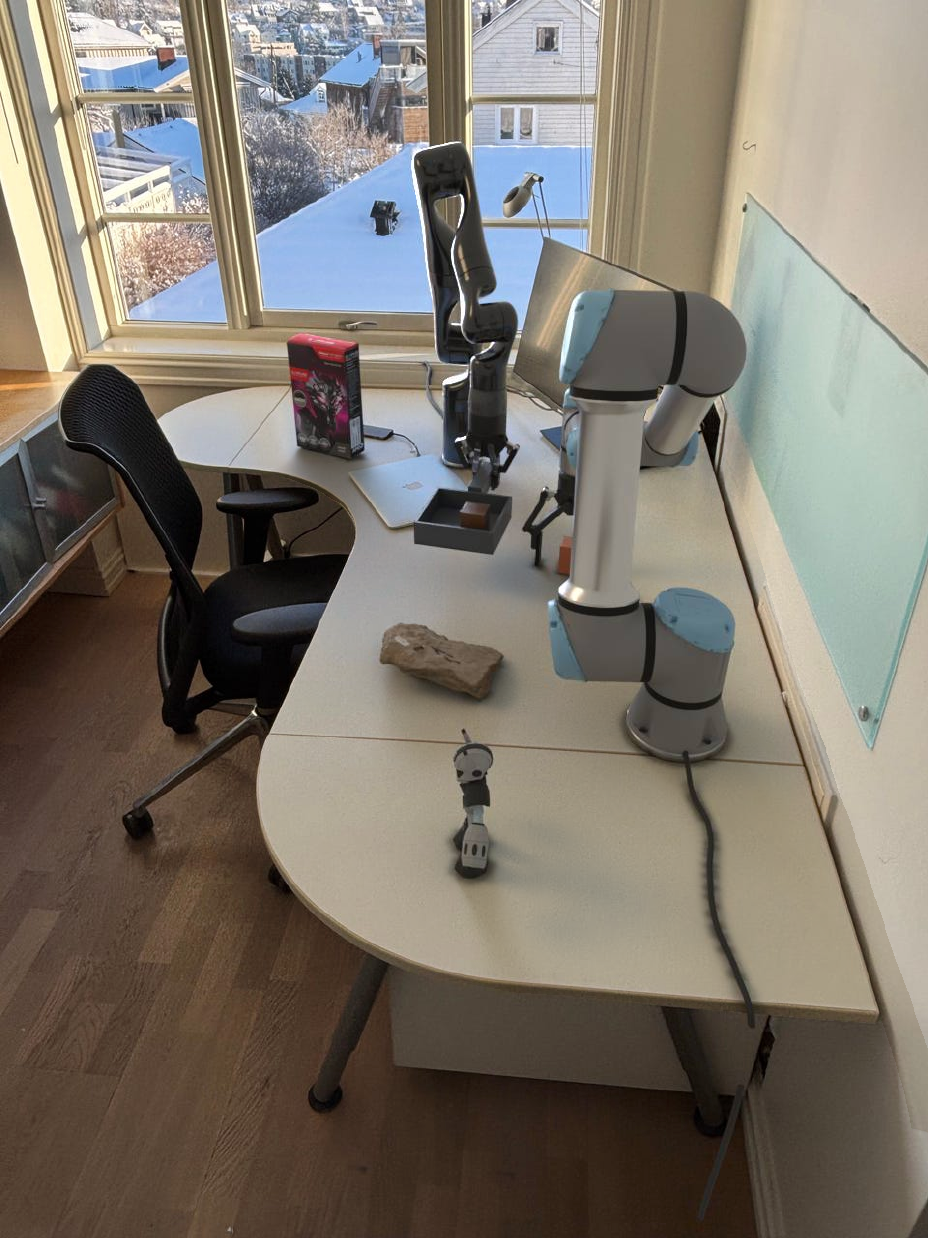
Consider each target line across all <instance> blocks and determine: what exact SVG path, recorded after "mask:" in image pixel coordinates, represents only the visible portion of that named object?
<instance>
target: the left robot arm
mask: <svg viewBox="0 0 928 1238" xmlns="http://www.w3.org/2000/svg"><path fill="white" fill-rule="evenodd" d="M411 171H412V179H413V185H414V190H415V195H416V200H417V205H418V209H419V214H420V215H419V216H420V221H421V227H422V235H423V243H424V253H425V254H424V255H425V263H426V264H425V265H426V271H427V279H428V283H429V290H430V297H431V303H432V311H433V328H434V329H433V330H434V344H435V345H434V346H435V353H436V357H437V360H438V361H439V363H440V364H443V365H448V366H459V367H467V369H466V370H465V371H463V372H460V373H458V374H454V375H451V376H449V377H447V378H445V379H444V380H443V382H442V409H441V408H440V407H439V405H438V404H437V403H436V401H435V400H434V398H433V396H432V394H431V391H430V378H431V374H432V368H431V365H430V364H429V362H428V361H427V360H423V361H424V362H425V363H424V362H423V361H422V365H423V366H424V365H425V366H426V367H427V374H426V379H425V390H426V394H427V397H428V400H429V401H430V402H431V404H432V406H433V407H434V408H435V410H436V411H437V412H438V413H439V414H440V416H441V417H442V463H443V464H444V465H445V466H448V467H450V468H455V469H469V470H471V472H472V474H471V475H472V476H471V478H472V479H473V477H474V475H475V474H476V472H477V471H478V469H479V467H480V466H481V464H482V459H483V458H488V459H489V462H490V464H491V467H492V480H491V487H490V491H493V492H495V491H496V490H497V489H498V488H499V486H500V484H501V474H506V473H507V471H508V470H509V468H510V467H511V465H512V463H513V461H514V459H515V458H516V456H517V454H518V453H519V450H520V449H521V445H520V444H519V443H515V444H514V443H513V442H511V441H509V438H508V436H507V416H508V392H507V382H508V381H507V378H508V364H509V360H510V357H511V353H512V349H513V347H514V343H515V340H516V337H517V333H518V329H519V316H518V312H517V310H516V308H515V307H514V305H513V304H512V303H511V302H509V301H504V300H503V301H494V302H484V303H480V302H479V301H480V300H482V299H484V298H487V297H489V296H490V295H492V294H493V293H494V292H495V291H496V289H497V286H498V281H497V276H496V273H495V270H494V267H493V262H492V260H491V257H490V253H489V250H488V245H487V242H486V237H485V236H486V235H485V232H484V225H483V218H482V213H481V207H480V206H481V205H480V200H479V196H478V190H477V183H476V179H475V174H474V168H473V164H472V161H471V157H470V154H469V151H468V149H467V148H466V146H465V145H464V143H462V142H461V141H460V142H459V141H453V142H448V143H444V144H440V145H439V144H438V145H434V146H430V147H427V148H423V149H419V150H417V151H415V152H414V154H413V155H412V160H411ZM456 197H460V198H461V214H460V218H459V222H458V226H457V228H456V230H455V229H454V228H452V226H451V225H450V224H449V223H448V222H447V221H446V220H445V219H444V217H443V216H442V215H441V213H440V211H439V210H438V208H437V206H436V203H437V202H440V201H442V200H447V199H452V198H456ZM459 303H460V309H461V310H460V312H461V313H460V314H461V315H460V323H458V322H452V321H451V316H452V314H453V312H454V311H455V309H456V307H457V306H458V304H459ZM489 343H490V345H489V347H488V348H486V349H485V344H489ZM505 448H506V454H507V457H506V459H505V461H504V463H503V464H501V452H502V451H503V450H504V449H505ZM472 479H471V480H472Z"/></svg>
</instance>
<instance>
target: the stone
mask: <svg viewBox="0 0 928 1238" xmlns="http://www.w3.org/2000/svg"><path fill="white" fill-rule="evenodd" d="M381 642H382V646H381V648H380V654H379V662H380V663H379V664H381V665H393V666H395V667H397V668H398V669H399V670H400V672H402V673H404V674H409V675H413V676H414V677H417V678H422V679H427V680H428V681H431V682H433V683H436V684H438V685H441V686H443V687H446V688H448V689H450V690H452V691H455V692H465V693H467V694H469V695H471V696H472V697H474V698H476V699H484V698H486V697H487V695H488V694H489V691H490V689H491V687H492V680H493V678H494V676H495V673H496V672H497V669H498V668H499V666H500V663H501V662H502V661H503V659H504V658H505V655H504V654H503V653H502V652H500V651H498V650H497V649H495V648H494V647H490V646H486V645H480V644H474V643H468V642H465V641H462V640H460V641H458V640H453V639H452V640H451V639H448V638H447V636H446V635H443V634H437V632H435V630H432V629H430V628H429V626H427V625H423V624H418V623H403V622H399V623H397V624H394V625H393V626H391V627H389V628H388V629H386V630H385V631H384V633H383V635H382V638H381Z"/></svg>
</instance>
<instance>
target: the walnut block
mask: <svg viewBox="0 0 928 1238" xmlns="http://www.w3.org/2000/svg"><path fill="white" fill-rule="evenodd" d="M460 527H463V528H470V529H477V530H485V531H489V530H490V504H482V503H474V502H466V504H465V506H464V507H463V509H462V511H461V512H460Z"/></svg>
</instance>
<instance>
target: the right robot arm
mask: <svg viewBox="0 0 928 1238" xmlns="http://www.w3.org/2000/svg"><path fill="white" fill-rule="evenodd" d="M747 349H748V348H747V341H746V337H745V332H744V331H743V328H742V326H741V324H740V322H739V320H738V319H737V317H736V316H735V315H734V314H733V312H732V311H731V310H730V309H729V308H728V307H727V306H726V305H724V304H723V303H722V302H721V301H719V300H718V299H715V298H714V297H712V296H710V295H707V294H705V293H702V292H698V291H692V290H680V291H679V290H678V291H677V290H676V291H675V290H673V291H671V290H642V289H641V290H639V289H614V288H609V289H595V290H593V289H592V290H585V291H582V292H580V293H578V294H577V295H576V296H575V298H574V299H573V301H572V303H571V306H570V309H569V312H568V317H567V321H566V325H565V331H564V336H563V342H562V346H561V354H560V363H559V372H558V376H559V377H558V378H559V381H560V383H563V384H565V385H569V388H568V389H566V391H565V393H564V397H563V404H562V419H561V439H560V440H561V441H560V446H559V447H560V448H559V460H558V467H559V469H558V477H557V487H556V490H554V489H550V487H549V486H547V485H545V486H543V487H542V489H541V491H540V494H539V499H538V501H537V502H536V504H535V506H534V507H533V509H532V510H531V511H530V513H529V514H528V517H527V518H526V520H525V521H524V523H523V526H522V528H521V530H522V532H523V533H528V534H530V549H531V550H535V553H534V567H539V566H540V563H541V561H542V549H543V532H544V531H543V530H544V529H545V528H547V526H549V525H550V524H551V523H552V522H553V521H555V519H556V518H558V517H560V516H561V515H562V514H563V513H564V514H565V515H566V516H570V517H571V516H573V517H572V532H571V533H572V534H571V537H572V549H571V565H570V574H569V578H568V579H566V581H564V582H563V583H562V584H561V585H560V586H559V587H558V592H557V599H556V598H553V599H551V600H549V601H548V602H547V604H546V605H547V618H548V630H549V631H548V632H549V640H550V641H549V642H550V651H551V652H550V653H551V660H552V661H551V662H552V668H553V671H554V674H555V675H556V676H557V677H558V678H560V679H562V680H567V681H579V682H583V683H587V682H605V683H606V682H607V683H608V682H611V683H642V684H641V685H640V688H639V689H638V691H637V692H636V694H635V695H634V697H633V699H632V701H631V702H630V704H629V706H628V708H627V712H626V719H625V728H626V732H627V734H628V736H629V738H630V739H631V741H632V742H634V744H636V745H637V746H638V747H639V748H640V749H641V750H643V751H645V752H646V753H648V754H650V755H651V756H654V757H656V758H659V759H662V760H666V761H670V762H675V763H684V766H685V773H686V780H687V781H686V782H687V787H688V791H689V794H690V797H691V799H692V802H693V804H694V805H695V808H696V810H697V811H698V813H699V815H700V816H701V818H702V821H703V823H704V826H705V829H706V834H707V835H706V836H707V851H706V852H707V853H706V885H707V901H708V907H709V912H710V916H711V920H712V924H713V927H714V928H713V929H714V931H715V934H716V936H717V939H718V941H719V943H720V947H721V948H722V951H723V952H724V955H725V957H726V959H727V961H728V963H729V966H730V968H731V971H732V973H733V976H734V978H735V981H736V984H737V986H738V989H739V990H740V993H741V996H742V999H743V1001H744V1004H745V1005H744V1006H745V1011H746V1018H747V1027H748V1028H750V1029H755V1028H756V1019H755V1012H754V1006H753V1001H752V998H751V995H750V993H749V990H748V988H747V985H746V983H745V981H744V979H743V976H742V973H741V971H740V968H739V966H738V963H737V961H736V959H735V957H734V954H733V952H732V950H731V948H730V946H729V944H728V941H727V938H726V937H725V934H724V932H723V930H722V926H721V924H720V919H719V916H718V912H717V907H716V898H715V887H714V869H713V868H714V867H713V866H714V853H715V851H714V850H715V837H714V831H713V826H712V823H711V821H710V818H709V816H708V813H707V812H706V810H705V809H704V807H703V806H702V803H701V802H700V799H699V797H698V795H697V793H696V790H695V786H694V785H695V784H694V779H693V772H692V765H691V763H694V762H700V761H703V760H706V759H709V758H711V757H714V755H716V754H718V752H720V751H721V750H722V748H723V747H724V744H725V743H726V740H727V739H726V738H727V733H728V721H727V716H726V712H725V708H724V707H725V706H724V701H723V692H724V686H725V682H726V678H727V672H728V668H729V664H730V659H731V654H732V651H733V649H734V646H735V632H736V620H735V617H734V614H733V612H732V611H731V609H730V608H729V607H728V606H727V605H726V604H725V603H724V602H723V601H722V600H720V599H718V598H717V597H715V596H714V595H711V594H710V593H708V592H705V591H702V590H699V589H695V588H691V587H683V586H682V587H681V586H675V587H669V588H667V589H664V590H662V591H660V592H659V593H658V594H657V596H656V597H655V598H654V601H653V602H640V601H641V599H640V598H641V593H640V591H639V590H638V589H637V588H636V587H635V586H634V584H633V583H631V577H632V576H631V575H632V567H633V563H632V562H633V554H634V553H633V552H634V541H635V532H636V531H635V529H636V517H637V506H638V505H637V504H638V493H639V483H640V482H639V481H640V470H641V467H664V468H666V467H667V468H676V467H690V466H692V465H693V464H694V463H695V461H696V457H697V454H698V450H699V430H698V428H699V427H700V426H701V423H702V422H703V420H704V419H705V417H706V415H707V414H708V413H709V411H710V410H711V408H712V406H713V404H714V403H715V402H716V400H717V398H718V397H720V396H722V395H724V394H726V393H727V392H729V391H730V390H731V389H732V388H733V387H734V386H735V384H736V383H737V382H738V380H739V378H740V376H741V374H742V373H743V370H744V368H745V364H746V361H747V351H748V350H747ZM660 386H664V387H663V388H662V391H661V393H660V395H659V387H660ZM658 397H659V398H658ZM654 404H655V406H654V408H653V410H652V412H651V414H650V416H649V419H648V420H647V421H646V420H645V415H646V411H647V410H648V409H649V408H650V407H651V406H653V405H654ZM552 498H553V499H554V500H555V501H556V505H555V506H554V507H553V508H552V509H551V510H550V511H549V512H548V513H547V514H545V515H544V516H543V517H542V518H541V519H540V520H539V521H538V522H537V523H536V524H534V522H535V520H536V518H537V517H538V515H539V514H540V512H541V511H542V510H543V508H544V506H545V504H546V502H551V499H552ZM744 1091H745V1085H744V1084H739V1083H737V1085H736V1090H735V1094H734V1098H733V1102H732V1106H731V1110H730V1114H729V1117H728V1121H727V1124H726V1127H725V1130H724V1133H723V1137H722V1140H721V1143H720V1146H719V1149H718V1152H717V1155H716V1158H715V1159H714V1160H715V1161H714V1164H713V1167H712V1169H711V1172H710V1174H709V1178H708V1181H707V1183H706V1184H707V1185H706V1187H705V1190H704V1193H703V1197H702V1200H701V1202H700V1206H699V1210H698V1213H697V1219H698V1220H699V1221H703V1220H704V1218H705V1213H706V1211H707V1207H708V1205H709V1201H710V1199H711V1195H712V1192H713V1189H714V1186H715V1183H716V1181H717V1178H718V1175H719V1172H720V1170H721V1166H722V1165H723V1161H724V1158H725V1156H726V1152H727V1151H728V1150H727V1149H728V1146H729V1144H730V1141H731V1138H732V1134H733V1131H734V1128H735V1125H736V1121H737V1117H738V1114H739V1111H740V1107H741V1102H742V1098H743V1094H744Z"/></svg>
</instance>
